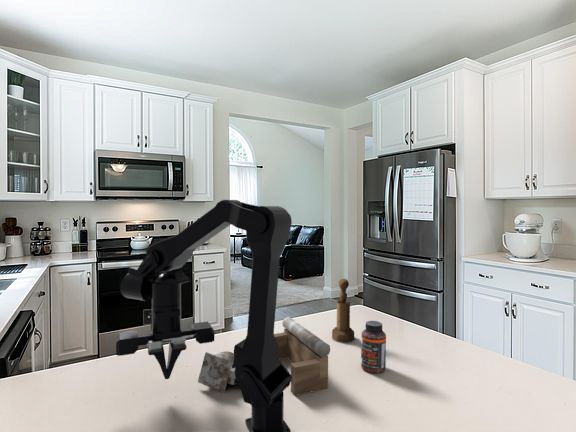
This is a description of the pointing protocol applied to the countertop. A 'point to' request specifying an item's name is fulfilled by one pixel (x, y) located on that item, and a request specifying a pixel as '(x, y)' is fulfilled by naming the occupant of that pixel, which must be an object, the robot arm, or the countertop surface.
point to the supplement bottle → (373, 348)
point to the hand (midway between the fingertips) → (166, 378)
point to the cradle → (304, 357)
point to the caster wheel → (218, 371)
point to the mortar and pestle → (343, 316)
